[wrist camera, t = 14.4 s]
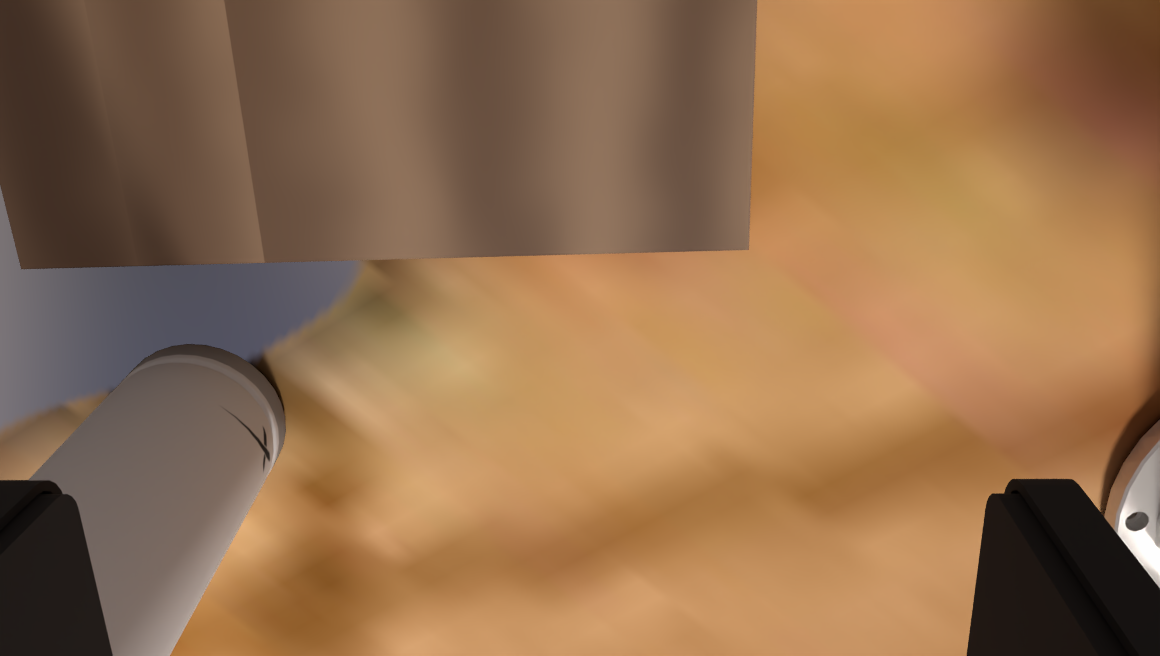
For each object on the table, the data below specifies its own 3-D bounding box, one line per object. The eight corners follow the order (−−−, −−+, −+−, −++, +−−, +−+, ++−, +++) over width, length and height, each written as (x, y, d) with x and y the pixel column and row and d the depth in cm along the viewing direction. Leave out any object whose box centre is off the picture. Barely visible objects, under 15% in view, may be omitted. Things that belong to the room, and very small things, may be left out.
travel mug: (318, 385, 40) (84, 817, 21) (246, 512, 42) (-24, 1005, 23) (164, 304, 38) (-228, 688, 20) (98, 439, 41) (-311, 899, 22)
